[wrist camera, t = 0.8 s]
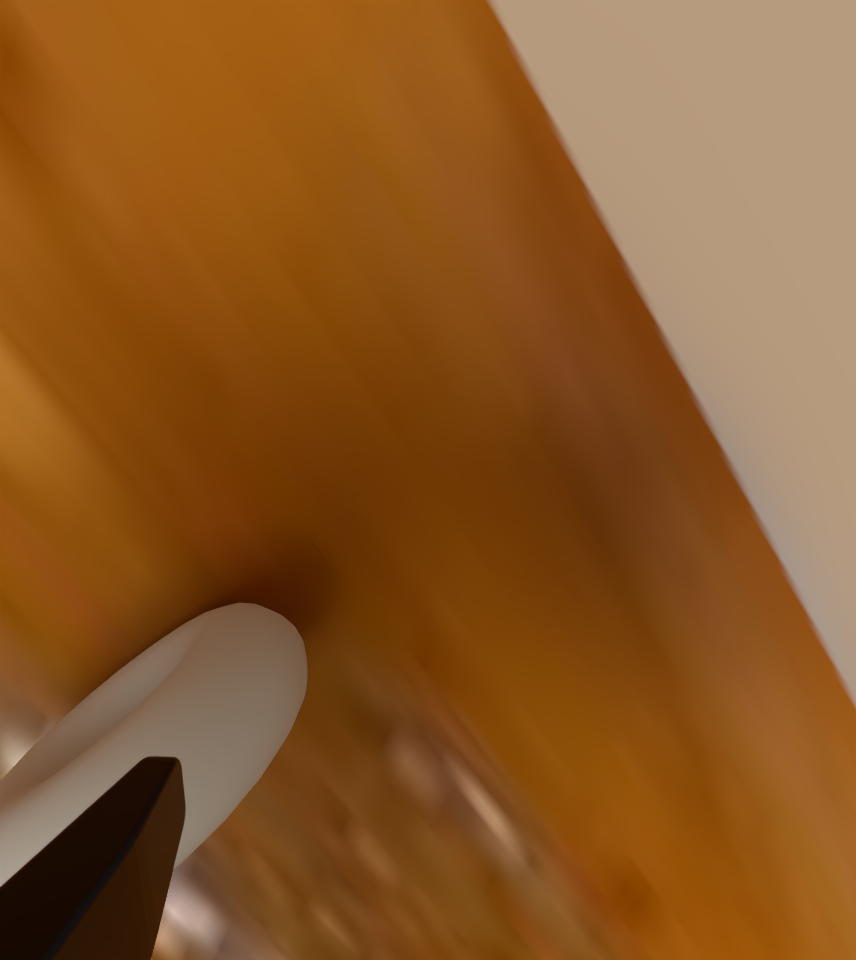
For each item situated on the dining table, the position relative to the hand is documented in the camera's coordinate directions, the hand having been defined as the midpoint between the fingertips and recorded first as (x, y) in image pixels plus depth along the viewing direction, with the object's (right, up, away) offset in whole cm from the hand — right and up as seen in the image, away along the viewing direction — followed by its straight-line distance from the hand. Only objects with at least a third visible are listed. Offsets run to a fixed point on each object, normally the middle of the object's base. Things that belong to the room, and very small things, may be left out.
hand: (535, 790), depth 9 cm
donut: (-9, -2, +15) cm, 18 cm away
